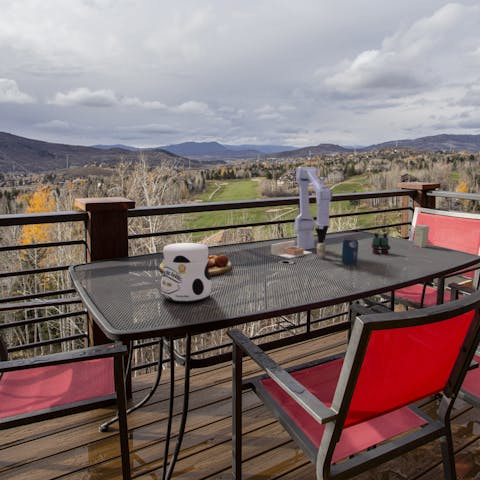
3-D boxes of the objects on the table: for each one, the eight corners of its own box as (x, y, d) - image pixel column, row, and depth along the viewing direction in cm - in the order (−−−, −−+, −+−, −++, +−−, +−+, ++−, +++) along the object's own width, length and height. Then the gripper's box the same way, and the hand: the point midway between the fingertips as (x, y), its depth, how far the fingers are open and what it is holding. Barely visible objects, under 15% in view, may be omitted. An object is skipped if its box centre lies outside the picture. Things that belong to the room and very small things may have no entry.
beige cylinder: (319, 256, 204) (320, 242, 203) (326, 258, 202) (327, 244, 200) (315, 257, 202) (315, 244, 200) (321, 259, 199) (322, 245, 198)
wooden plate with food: (245, 266, 185) (245, 248, 183) (200, 282, 159) (200, 261, 157) (192, 258, 203) (191, 241, 201) (143, 271, 177) (142, 252, 175)
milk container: (153, 304, 134) (152, 251, 131) (170, 288, 151) (169, 241, 147) (204, 308, 131) (204, 254, 128) (216, 291, 148) (216, 243, 145)
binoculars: (375, 237, 206) (371, 231, 215) (373, 256, 209) (369, 250, 218) (393, 237, 205) (388, 232, 215) (391, 257, 208) (386, 251, 218)
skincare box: (413, 245, 234) (415, 224, 232) (418, 245, 236) (420, 224, 234) (422, 247, 229) (424, 226, 226) (427, 247, 230) (429, 225, 228)
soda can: (357, 266, 186) (359, 240, 184) (341, 265, 188) (343, 239, 185) (356, 262, 193) (358, 237, 191) (341, 261, 194) (342, 237, 192)
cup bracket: (293, 249, 220) (293, 240, 219) (312, 253, 211) (312, 243, 210) (271, 254, 208) (271, 244, 207) (290, 258, 199) (290, 248, 198)
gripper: (316, 211, 205) (315, 238, 208) (312, 215, 192) (311, 243, 194) (330, 212, 203) (329, 239, 206) (328, 216, 190) (326, 244, 192)
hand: (321, 241), depth 200 cm, fingers open, 7 cm apart
